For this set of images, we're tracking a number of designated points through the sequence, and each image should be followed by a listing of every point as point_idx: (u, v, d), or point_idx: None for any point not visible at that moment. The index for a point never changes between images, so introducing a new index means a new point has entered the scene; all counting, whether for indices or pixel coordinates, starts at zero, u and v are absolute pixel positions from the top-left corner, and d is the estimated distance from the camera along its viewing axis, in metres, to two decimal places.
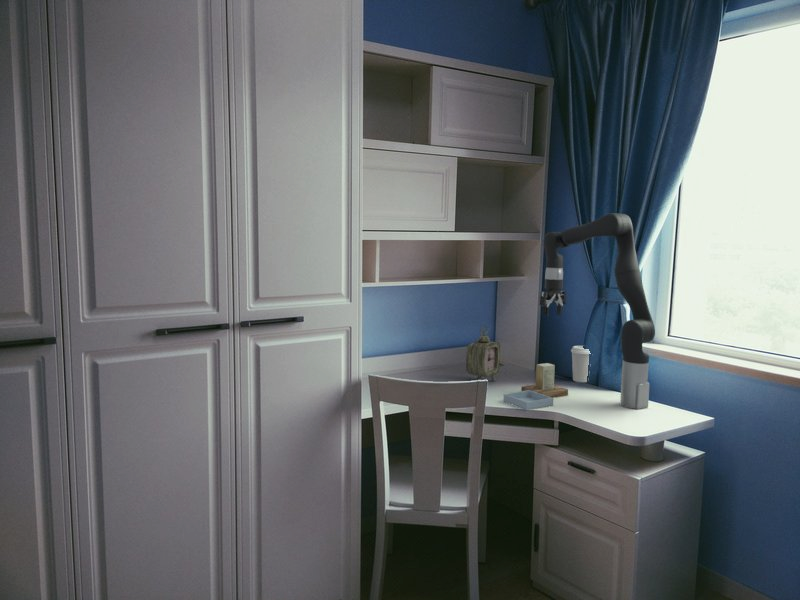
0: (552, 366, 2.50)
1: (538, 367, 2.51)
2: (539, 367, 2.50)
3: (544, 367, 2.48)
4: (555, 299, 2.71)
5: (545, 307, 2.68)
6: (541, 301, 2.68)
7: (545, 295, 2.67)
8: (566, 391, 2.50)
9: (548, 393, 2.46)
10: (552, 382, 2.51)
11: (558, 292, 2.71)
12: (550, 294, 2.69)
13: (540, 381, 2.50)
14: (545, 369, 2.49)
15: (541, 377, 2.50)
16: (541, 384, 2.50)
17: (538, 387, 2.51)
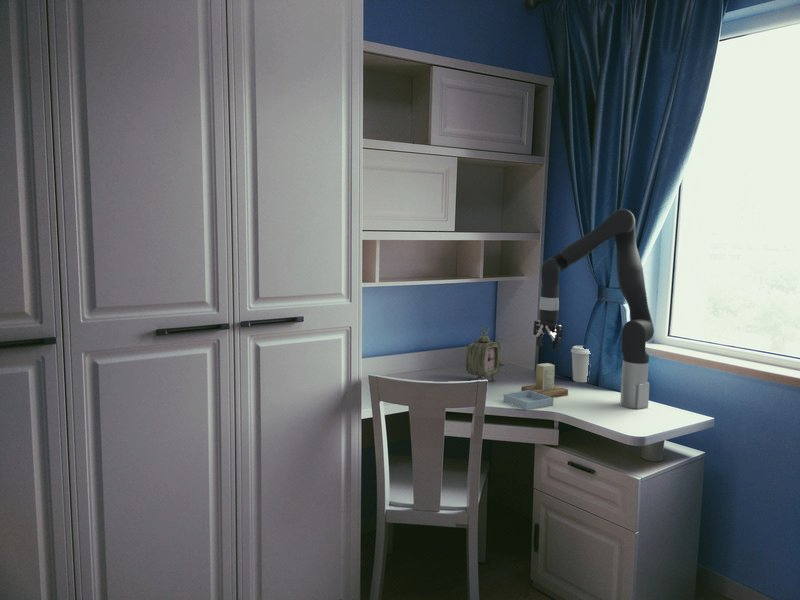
0: (552, 366, 2.50)
1: (538, 367, 2.51)
2: (539, 367, 2.50)
3: (544, 367, 2.48)
4: None
5: None
6: None
7: None
8: (566, 391, 2.50)
9: (548, 393, 2.46)
10: (552, 382, 2.51)
11: None
12: None
13: (540, 381, 2.50)
14: (545, 369, 2.49)
15: (541, 377, 2.50)
16: (541, 384, 2.50)
17: (538, 387, 2.51)
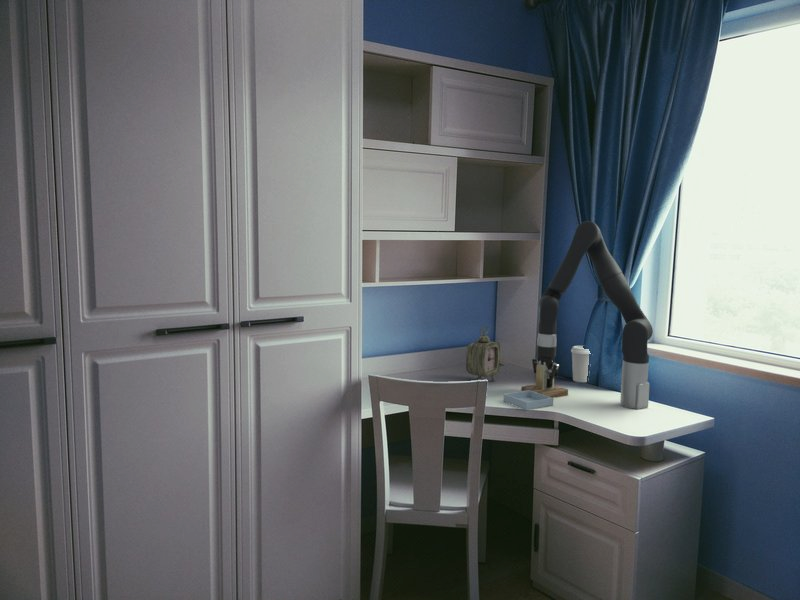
0: None
1: (538, 367, 2.51)
2: (539, 367, 2.50)
3: (544, 367, 2.48)
4: None
5: (552, 378, 2.49)
6: None
7: None
8: (566, 391, 2.50)
9: (548, 393, 2.46)
10: None
11: None
12: None
13: (540, 381, 2.50)
14: (545, 369, 2.49)
15: (541, 377, 2.50)
16: (541, 384, 2.50)
17: (538, 387, 2.51)
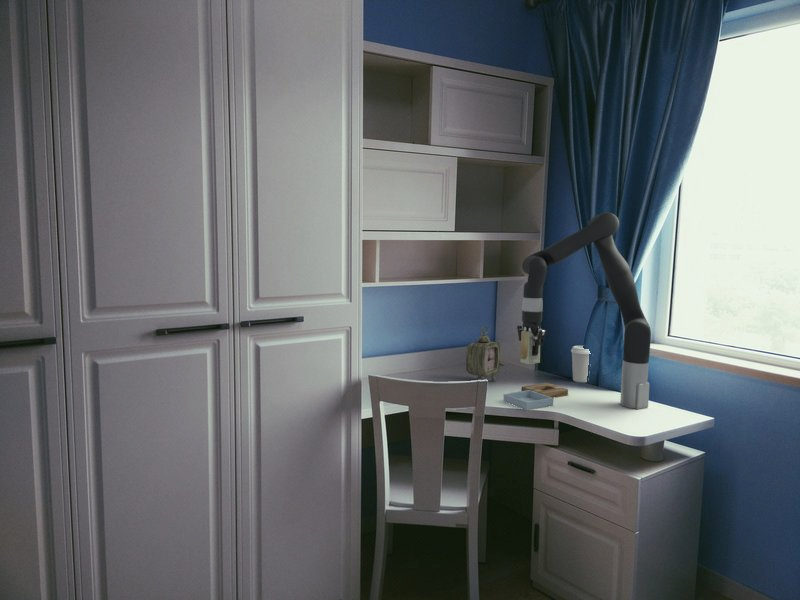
0: None
1: (523, 334, 2.34)
2: (524, 334, 2.34)
3: (529, 333, 2.32)
4: None
5: (538, 346, 2.33)
6: None
7: None
8: (566, 391, 2.50)
9: (548, 393, 2.46)
10: (538, 350, 2.35)
11: None
12: None
13: (525, 348, 2.33)
14: (530, 335, 2.32)
15: (526, 344, 2.33)
16: (526, 352, 2.33)
17: (523, 355, 2.35)
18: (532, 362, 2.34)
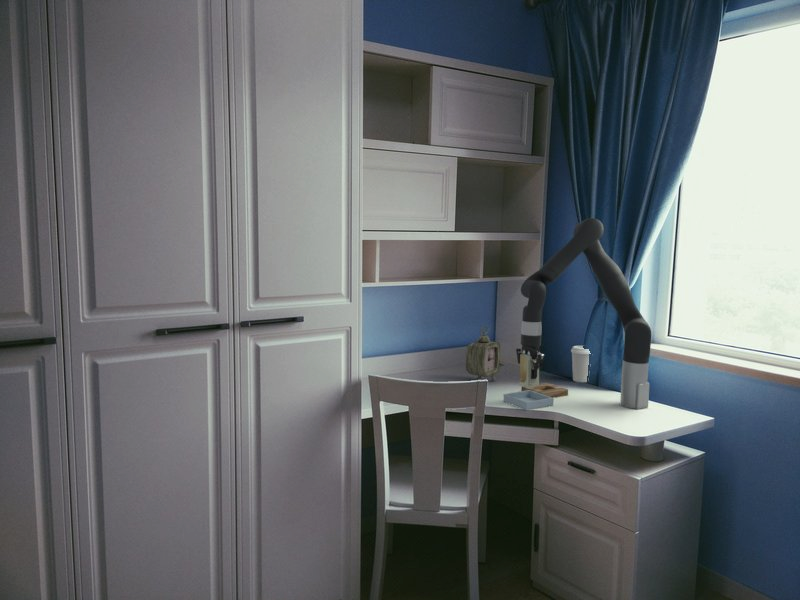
0: None
1: (522, 357, 2.35)
2: (523, 357, 2.34)
3: (528, 357, 2.33)
4: None
5: (537, 369, 2.34)
6: None
7: None
8: (566, 391, 2.50)
9: (548, 393, 2.46)
10: (537, 373, 2.36)
11: None
12: None
13: (524, 371, 2.34)
14: (529, 359, 2.33)
15: (524, 368, 2.34)
16: (525, 375, 2.34)
17: (522, 378, 2.36)
18: (531, 385, 2.35)
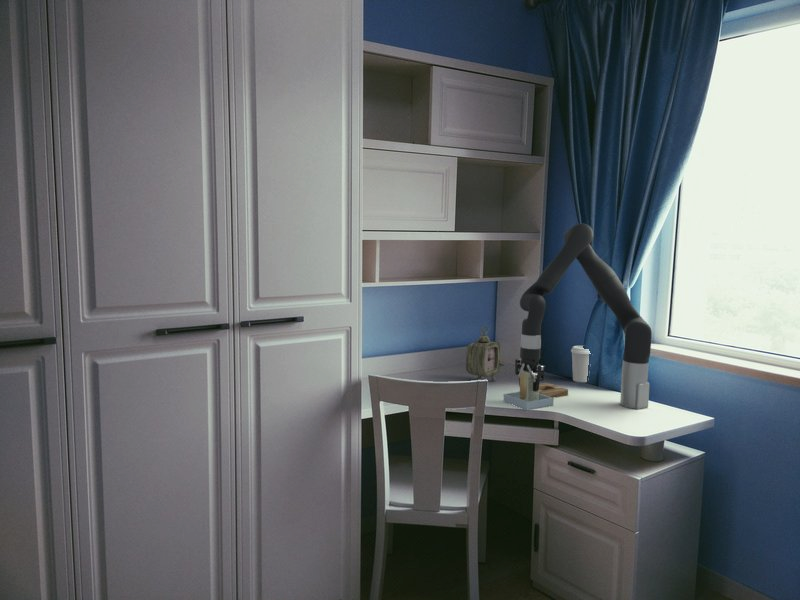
0: None
1: (522, 374, 2.35)
2: (523, 374, 2.35)
3: (528, 374, 2.33)
4: None
5: None
6: None
7: None
8: (566, 391, 2.50)
9: (548, 393, 2.46)
10: None
11: None
12: None
13: (524, 388, 2.35)
14: (529, 376, 2.34)
15: (525, 385, 2.34)
16: (525, 392, 2.34)
17: (522, 395, 2.36)
18: None
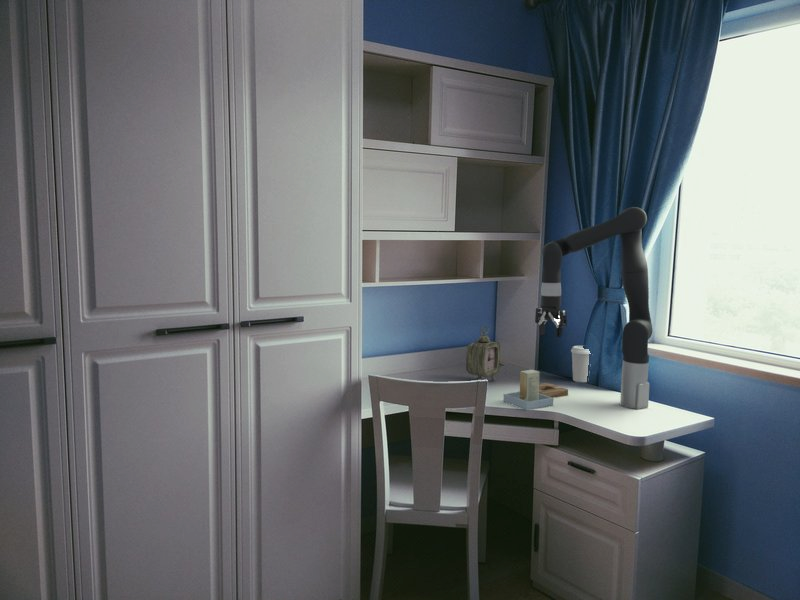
0: (537, 373, 2.35)
1: (522, 374, 2.35)
2: (523, 374, 2.35)
3: (528, 374, 2.33)
4: None
5: None
6: None
7: None
8: (566, 391, 2.50)
9: (548, 393, 2.46)
10: (536, 390, 2.36)
11: None
12: None
13: (524, 388, 2.35)
14: (529, 376, 2.34)
15: (525, 385, 2.34)
16: (525, 392, 2.34)
17: (522, 395, 2.36)
18: None
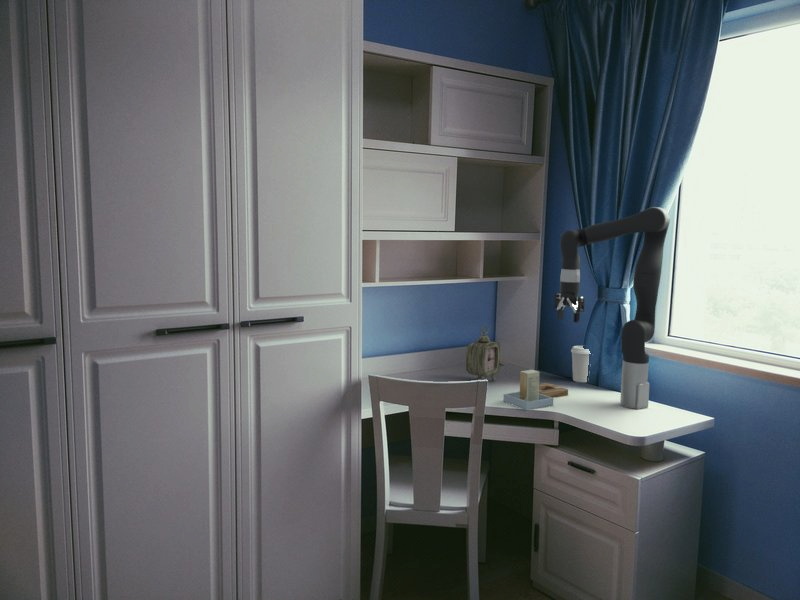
0: (537, 373, 2.35)
1: (522, 374, 2.35)
2: (523, 374, 2.35)
3: (528, 374, 2.33)
4: None
5: (579, 313, 2.45)
6: None
7: None
8: (566, 391, 2.50)
9: (548, 393, 2.46)
10: (536, 390, 2.36)
11: None
12: None
13: (524, 388, 2.35)
14: (529, 376, 2.34)
15: (525, 385, 2.34)
16: (525, 392, 2.34)
17: (522, 395, 2.36)
18: None
